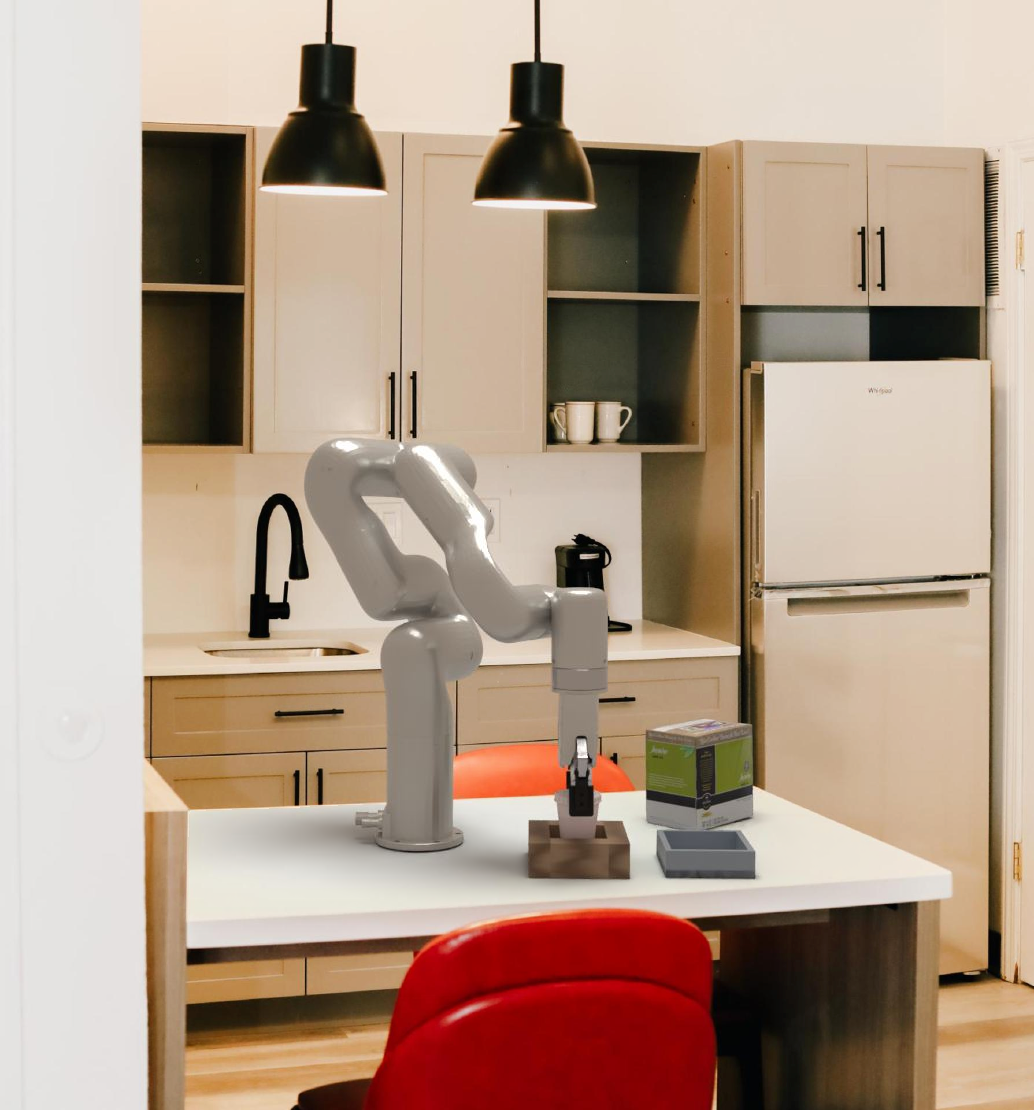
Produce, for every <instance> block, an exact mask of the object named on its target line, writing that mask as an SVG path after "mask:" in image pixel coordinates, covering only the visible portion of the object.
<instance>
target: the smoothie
mask: <svg viewBox="0 0 1034 1110" xmlns="http://www.w3.org/2000/svg"><path fill="white" fill-rule="evenodd" d="M553 801H554V802H555V803H556V809H557V811H556V812H557V818H558V819H557V820H559V829H560V838H585V839H595V832H596V824H597V821H598V816H599V807H600V803H602V801H603V800H602V793H601V792H599V791H597V790H594V815H593V816H592V817H571V816H570V815H569V789H566V788H564V789H561V790H559V789H558V790H557V791H555V792H554V798H553Z"/></svg>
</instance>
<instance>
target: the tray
mask: <svg viewBox="0 0 1034 1110" xmlns="http://www.w3.org/2000/svg"><path fill="white" fill-rule="evenodd" d="M655 848H656V851H655V852H656V857H657V860H658V862H659V865H660V867H661V869H662V872H663V874H664V876H665V878H671V877H710V878H709V879H755V878H756V850H755V849H754V847H753V845H752V844H751V843H750V841H749V840H748V838H747V837H746V836H745V835H744V833H743V832H742V830H741V829H705V830H680V829H656V847H655ZM714 877H716V878H714ZM719 877H721V878H719Z"/></svg>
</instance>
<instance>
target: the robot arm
mask: <svg viewBox="0 0 1034 1110" xmlns="http://www.w3.org/2000/svg"><path fill="white" fill-rule="evenodd" d="M477 475H478V473H477V468H476V465H475V462H474V461H473V459H472V457H471V456H470V455H469V454H468V453H467V452H466V451H465V449H462V448H461V447H459V446H456V445H452V444H443V443H435V442H434V443H432V442H417V443H415V442H404V441H392V440H382V439H372V438H361V437H338V438H333V439H331V440H328V441H326V442H324V443H322V444H321V445H319V446H318V447H317V448H316V449H315V450H314V452H313V453H312V454H311V456H310V459H308V462H307V465H306V468H305V473H304V478H303V479H304V482H303V489H304V490H303V492H304V498H305V502H306V506H307V508H308V511H309V513H310V515H311V517H312V519H313V521H314V523H315V524H316V526H317V528H318V530H319V531H320V533H321V534H322V536H323V537H324V539H325V541H326V542H327V544H328V545H329V547H330V549H331V551H332V553H333V555H334V557H335V559H336V561H337V563H338V565H339V567H340V569H341V571H342V573H343V575H344V577H345V579H346V581H347V583H348V585H349V586H350V588H351V590H352V592H353V594H354V595H355V599H357V602H358V604H359V605H360V607H361V609H362V610H363V611H364V612H365V614H366V615H367V616H368V617H369V618H371V619H373V620H375V621H380V622H394V621H395V622H396V621H401V620H403V621H404V620H407V622H403V623H401V624H399V625H397V626H396V627H394V628H393V629H392V630H391V631H390V632H388V634H387V635H386V637H385V639H384V641H383V642H382V645H381V649H380V657H379V658H380V660H379V661H380V670H381V676H382V683H383V687H384V695H385V706H386V708H385V710H386V714H385V715H386V717H385V718H386V728H385V731H386V802H385V803H386V804H385V806H384V809H382V810H381V809H379V810H377V812H369V811H355V816H354V818H355V819H354V823H355V826H361V828H363V829H365V828H369V829H371V828H378V830H377V831H375V834H374V841H375V843H376V844H377V845H379V846H381V847H383V848H386V849H391V850H397V851H405V852H429V851H440V850H447V849H450V848H455V847H457V846H459V845H460V844H462V843H463V842H464V837H465V836H464V832H463V831H462V830H461V829H460V828H458V827H455V826H454V713H453V706H452V702H451V699H450V695H449V692H448V689H447V688H448V687H447V683H451V682H456V681H459V680H463V679H465V678H468V677H469V676H471V675H472V674H473V673H475V672H476V671H477V670H478V668H479V667H480V664H481V663H482V661H483V656H484V655H483V654H484V644H483V639H482V635H481V632H480V631H479V629H478V627H479V628H480V629H482V631H483V632H484V633H485V634H487V636H489V637H490V638H492V639H493V640H495V641H497V642H499V643H504V644H515V643H520V642H521V643H522V642H527V641H535V640H542V639H547V638H548V639H549V638H550V639H551V641H550V642H551V643H550V644H551V647H550V648H551V649H550V650H551V654H550V658H551V664H550V665H551V666H550V667H551V669H550V671H551V672H550V673H551V674H550V675H551V677H550V678H551V679H550V680H551V681H550V683H551V685H550V686H551V687H550V688H551V689H550V691H551V692H552V693H554V694H558V703H557V704H558V706H557V707H558V710H557V761H558V765H559V767H560V768H561V769H563V770H565V768H566V766H567V770H566V772H565V773H566V774H565V785H566V786H565V789H569V815H570V816H571V817H592V816H593V815H594V791H595V787H594V786H595V785H594V784H593V769H594V768H595V767H597V761H598V760H597V759H598V750H599V749H598V748H599V746H598V745H599V730H600V729H599V723H600V722H599V720H600V719H599V718H600V717H599V716H600V713H599V712H600V711H599V710H600V706H599V705H600V704H599V703H600V701H599V700H600V694H605V693H607V692H608V690H609V689H608V686H609V685H608V683H609V682H608V681H609V680H608V678H609V676H608V675H609V672H608V670H609V668H608V666H609V665H608V664H609V663H608V662H609V661H608V660H609V658H608V656H609V655H608V654H609V652H608V651H609V649H608V648H609V641H608V639H609V638H608V637H609V634H608V633H609V632H608V631H609V630H608V629H609V627H608V625H609V623H608V620H609V619H608V617H609V616H608V615H609V612H608V611H609V607H608V606H609V603H608V602H609V601H608V596H607V594H606V593H605V591H604V590H603V589H600V588H595V587H584V586H583V587H579V586H578V587H558V586H553V585H548V584H541V583H540V584H520V585H513V584H512V583H511V582H510V580H509V579H508V578H507V576H506V575H505V574H504V573H503V571H502V570H501V569H500V567H499V566H498V565H497V563H496V561H495V559H494V558H493V556H492V554H491V552H490V550H489V546H488V537H489V536H490V534H491V533H492V530H493V528H494V525H495V519H494V516H493V514H492V512H491V511H490V509H489V508H488V507H487V506H486V505H485V503H483V501H482V499H481V498H480V497H479V496H478V495H477V494H476V492H475V491H474V490H475V487H476V484H477V479H478V478H477V477H478V476H477ZM363 497H373V498H375V497H380V498H382V497H384V498H396V499H397V498H399V499H403V500H404V502H406V504H407V505H408V506H409V508H410V509H411V510H412V512H413V513H414V514H415V516H416V517H417V518H418V520H419V521H420V522H421V523H422V525H423V526H424V528H425V529H426V530H427V532H428V533H429V534H430V535H431V536H432V539H433V540H435V542H436V543H437V545H438V546H439V547H440V549H441V550H442V552H443V553H444V557H445V566H446V567H445V568H446V569H444V568H443V567H442V565H440V564H439V562H437V561H436V560H435V559H433V558H431V557H428V556H425V555H421V554H404V553H402V552H401V550H400V549H399V548H398V547H397V545H396V543H395V541H393V539H392V537H391V535H390V533H389V530H388V529H387V527H386V525H385V523H384V522H383V521H382V519H381V518H380V517H379V516H378V515H377V514H376V513H375V512H374V510H373V509H372V508H370V507H369V505H368V504H367V503H366V502H365V500H364V499H363ZM477 625H478V626H477Z"/></svg>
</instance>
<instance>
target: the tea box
mask: <svg viewBox="0 0 1034 1110" xmlns="http://www.w3.org/2000/svg"><path fill="white" fill-rule="evenodd" d="M753 749H754V747H753V724H751V723H742V722H734V721H727V720H721V719H711V718H710V719H708V718H704V717H701V718H695V719H692V720H686V721H682V722H676V723H671V724H667V725H661V726H656V727H651V728H647V729H646V728H645V818H646V819H645V821H646V822H647V824H653V825H656V826H657V825H658V826H661V827H667V828H671V829H675V830H710V829H711V828H716V827H719V826H722V825H725V824H729V823H733V822H735V821H739V820H742V819H746V818H750V817H753V816H754V793H753V792H754V773H753V772H754V766H753V765H754V760H753V758H754V756H753V753H754V752H753Z"/></svg>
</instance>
